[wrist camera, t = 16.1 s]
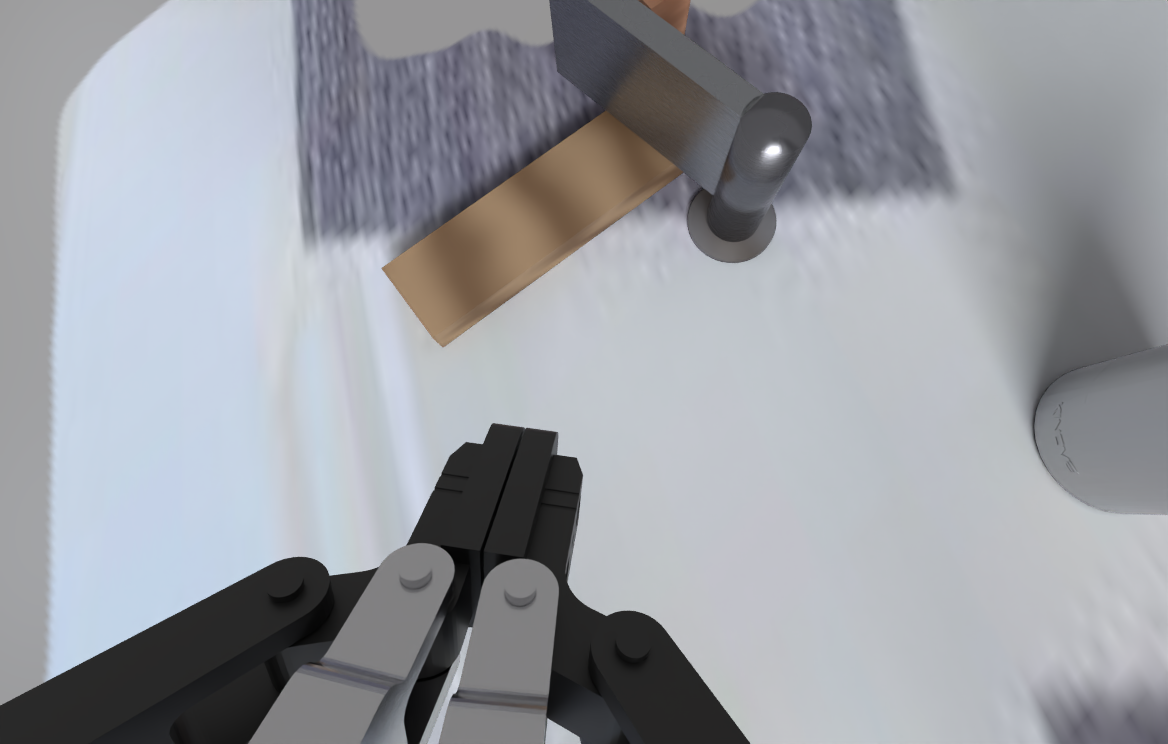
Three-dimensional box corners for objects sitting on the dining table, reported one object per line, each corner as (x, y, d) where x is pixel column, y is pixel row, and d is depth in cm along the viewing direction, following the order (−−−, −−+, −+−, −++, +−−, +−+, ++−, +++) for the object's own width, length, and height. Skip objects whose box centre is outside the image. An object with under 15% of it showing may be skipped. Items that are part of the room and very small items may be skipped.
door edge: (643, 37, 44) (652, -62, 36) (811, 214, 41) (860, 146, 33) (359, 234, 42) (302, 173, 34) (512, 441, 38) (488, 426, 30)
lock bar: (770, 215, 40) (826, 120, 30) (736, 252, 40) (781, 168, 29) (585, 69, 43) (579, -62, 33) (551, 102, 42) (534, -21, 32)
